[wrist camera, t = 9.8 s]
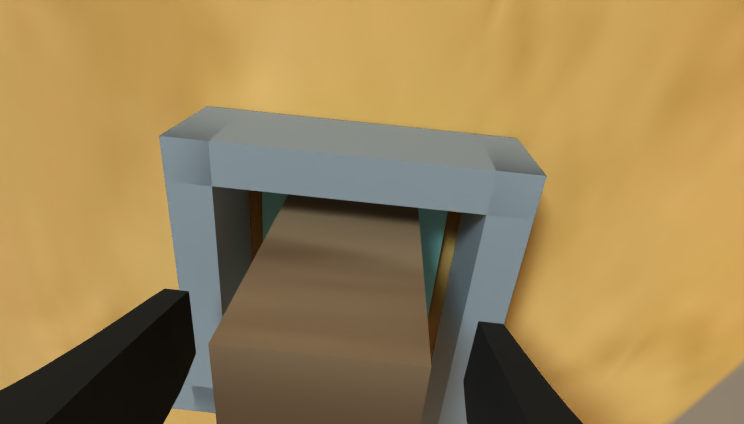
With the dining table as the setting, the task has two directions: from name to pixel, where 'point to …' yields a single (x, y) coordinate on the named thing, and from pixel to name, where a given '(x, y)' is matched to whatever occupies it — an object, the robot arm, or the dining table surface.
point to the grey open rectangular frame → (353, 183)
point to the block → (327, 320)
